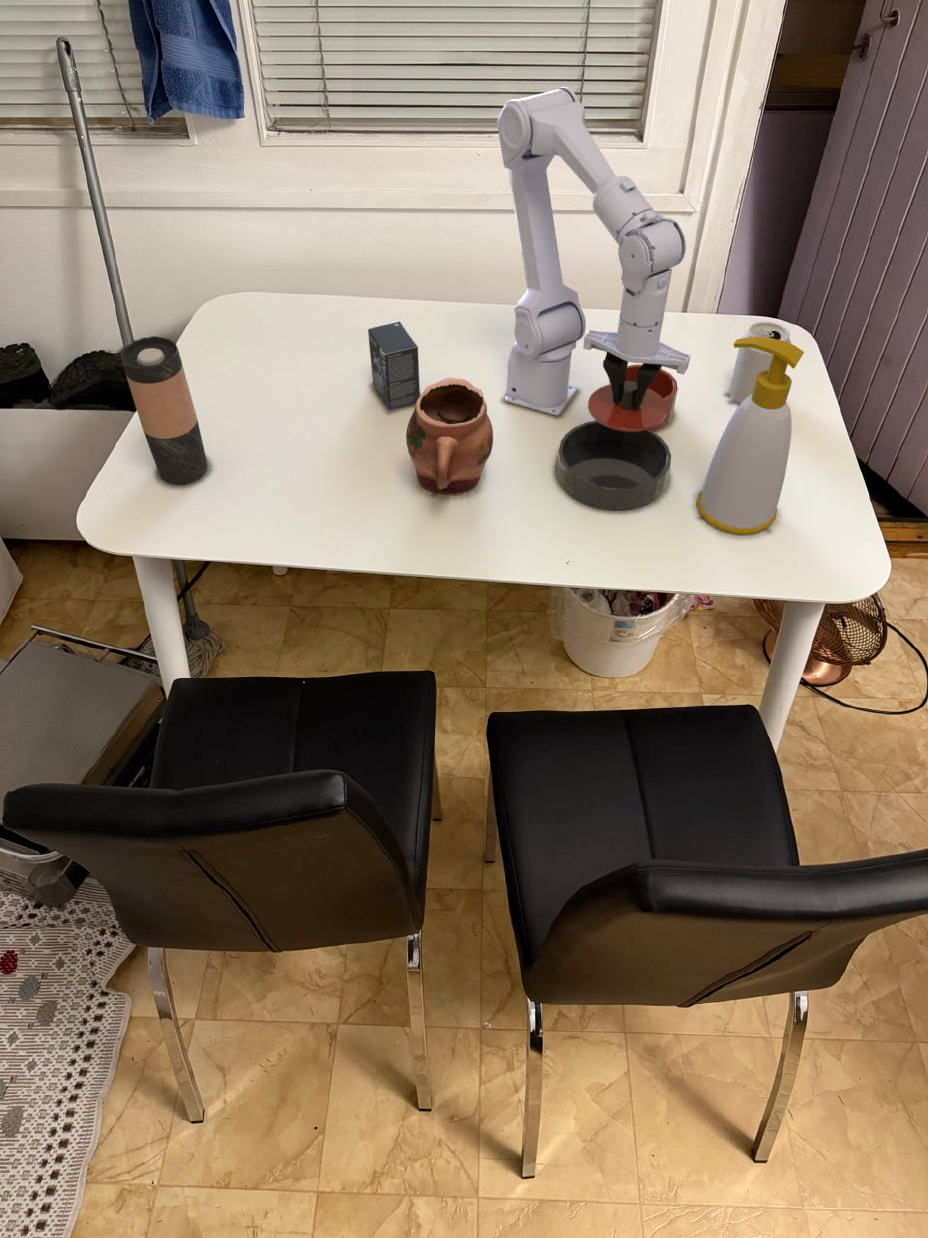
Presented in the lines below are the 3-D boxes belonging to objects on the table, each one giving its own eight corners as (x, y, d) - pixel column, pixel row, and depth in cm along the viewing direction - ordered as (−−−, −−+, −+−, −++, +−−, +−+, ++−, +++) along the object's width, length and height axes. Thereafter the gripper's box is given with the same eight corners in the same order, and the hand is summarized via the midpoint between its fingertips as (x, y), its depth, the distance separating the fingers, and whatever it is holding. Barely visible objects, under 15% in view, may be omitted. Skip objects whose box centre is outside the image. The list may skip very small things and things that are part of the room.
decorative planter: (493, 529, 128) (496, 450, 118) (406, 530, 128) (401, 450, 117) (489, 441, 141) (492, 362, 131) (410, 441, 141) (406, 362, 131)
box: (372, 385, 151) (367, 327, 143) (404, 377, 152) (401, 320, 145) (388, 411, 146) (383, 353, 138) (421, 403, 148) (418, 345, 140)
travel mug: (219, 459, 138) (189, 342, 123) (193, 491, 133) (158, 372, 118) (174, 449, 140) (140, 331, 125) (147, 480, 135) (107, 361, 120)
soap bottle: (709, 474, 136) (751, 313, 116) (786, 500, 132) (842, 338, 112) (682, 518, 129) (721, 355, 110) (761, 547, 126) (816, 383, 106)
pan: (539, 490, 133) (541, 468, 130) (580, 429, 143) (583, 408, 140) (645, 524, 129) (649, 502, 126) (680, 458, 138) (685, 437, 135)
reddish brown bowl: (596, 421, 145) (600, 392, 141) (619, 386, 151) (623, 358, 147) (659, 439, 142) (665, 410, 137) (679, 403, 148) (686, 374, 144)
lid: (575, 422, 131) (578, 396, 127) (603, 381, 137) (606, 356, 134) (650, 443, 127) (655, 417, 124) (675, 401, 134) (680, 375, 131)
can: (774, 413, 146) (795, 346, 137) (727, 407, 147) (744, 341, 138) (773, 386, 151) (793, 320, 142) (727, 381, 152) (744, 315, 143)
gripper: (703, 314, 121) (685, 400, 131) (600, 289, 125) (590, 375, 136) (687, 340, 117) (670, 427, 127) (581, 314, 121) (572, 400, 131)
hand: (627, 402), depth 131 cm, fingers closed on lid, 2 cm apart
